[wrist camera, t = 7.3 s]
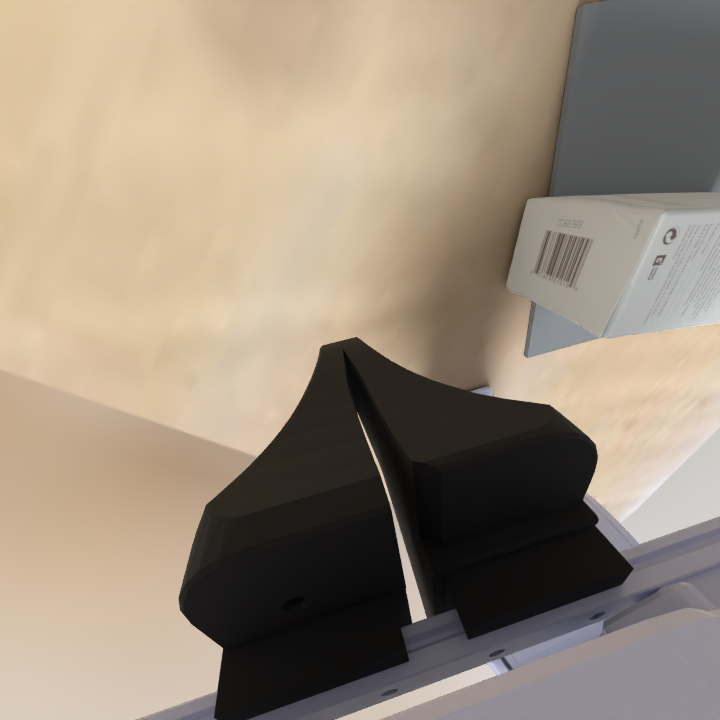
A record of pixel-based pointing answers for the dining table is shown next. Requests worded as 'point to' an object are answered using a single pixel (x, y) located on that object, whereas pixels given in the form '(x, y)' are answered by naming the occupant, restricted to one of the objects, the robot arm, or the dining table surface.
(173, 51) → the dining table surface
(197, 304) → the dining table surface
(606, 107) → the mat
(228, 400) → the dining table surface
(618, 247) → the skincare box
